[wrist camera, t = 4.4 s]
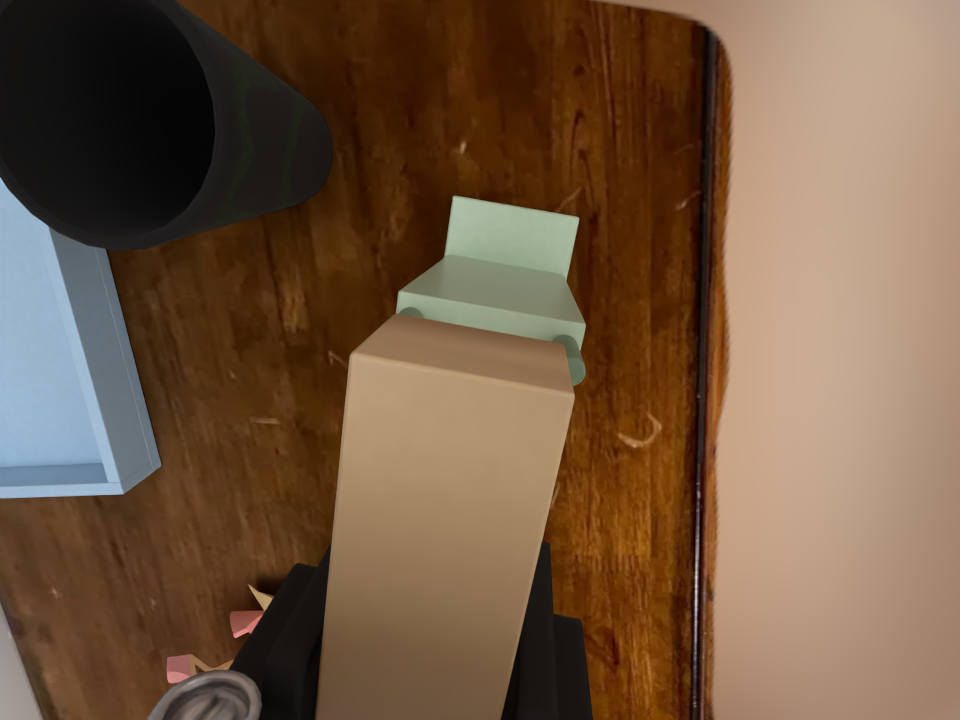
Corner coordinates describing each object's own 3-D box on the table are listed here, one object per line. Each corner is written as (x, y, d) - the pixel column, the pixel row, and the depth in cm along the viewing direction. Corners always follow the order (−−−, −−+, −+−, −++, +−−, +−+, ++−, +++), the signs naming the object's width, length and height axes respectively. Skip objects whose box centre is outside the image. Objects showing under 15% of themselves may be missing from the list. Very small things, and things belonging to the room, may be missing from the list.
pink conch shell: (295, 525, 34) (368, 658, 28) (345, 595, 41) (413, 715, 35) (141, 625, 31) (185, 801, 25) (224, 684, 38) (275, 832, 31)
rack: (455, 195, 27) (380, 194, 13) (578, 216, 27) (630, 237, 13) (404, 546, 33) (315, 800, 19) (505, 565, 33) (488, 836, 19)
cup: (335, 247, 28) (206, 282, 17) (190, 204, 28) (-38, 209, 17) (369, 86, 26) (246, 2, 15) (212, 39, 26) (-34, -83, 15)
